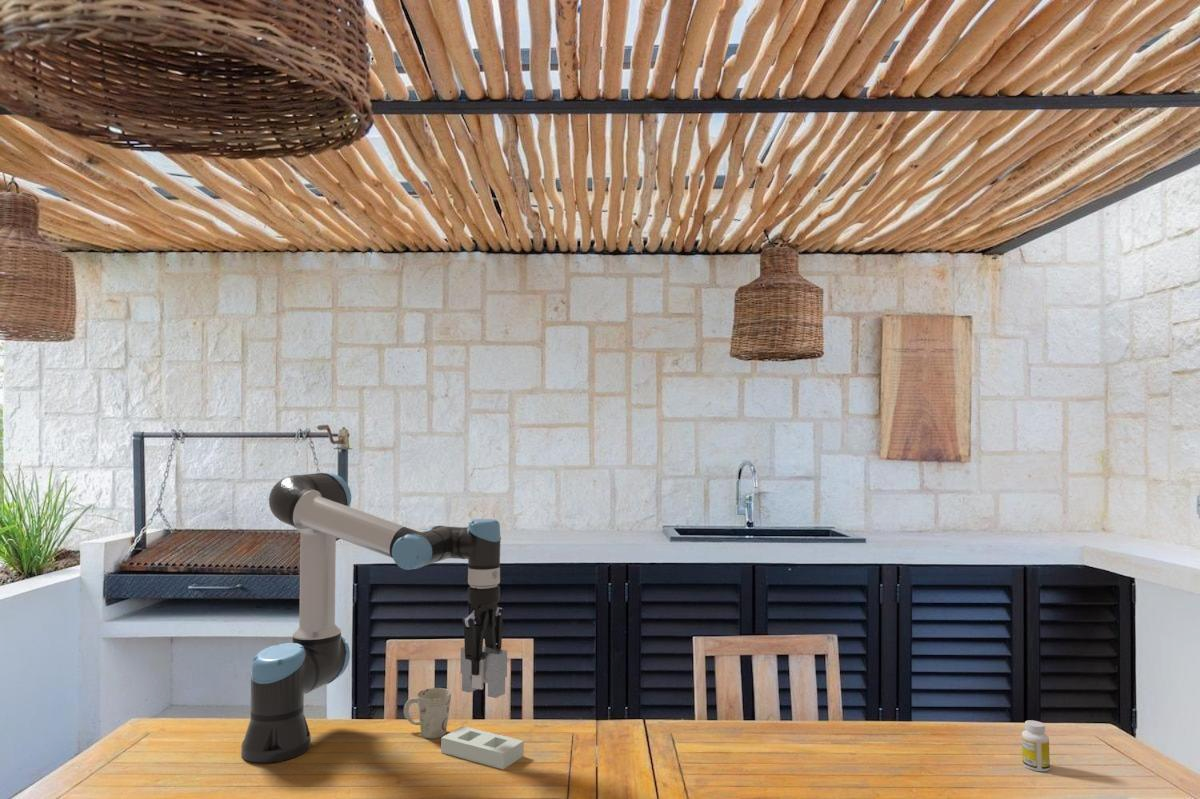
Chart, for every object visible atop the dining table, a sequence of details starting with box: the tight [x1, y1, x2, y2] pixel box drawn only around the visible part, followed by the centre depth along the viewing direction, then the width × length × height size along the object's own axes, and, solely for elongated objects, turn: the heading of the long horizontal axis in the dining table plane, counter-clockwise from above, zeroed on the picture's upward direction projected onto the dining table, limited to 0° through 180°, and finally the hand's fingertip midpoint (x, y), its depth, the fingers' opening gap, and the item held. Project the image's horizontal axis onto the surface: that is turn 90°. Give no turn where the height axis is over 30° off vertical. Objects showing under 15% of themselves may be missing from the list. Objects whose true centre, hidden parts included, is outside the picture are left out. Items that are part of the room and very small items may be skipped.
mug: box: [403, 687, 452, 739], centre depth 188 cm, size 8×13×10 cm, turn 78°
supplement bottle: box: [1021, 719, 1051, 772], centre depth 171 cm, size 5×5×10 cm
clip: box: [460, 645, 508, 699], centre depth 176 cm, size 11×4×10 cm, turn 61°
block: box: [440, 725, 525, 770], centre depth 176 cm, size 18×8×4 cm, turn 61°
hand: (483, 685), depth 176 cm, fingers closed on clip, 3 cm apart
